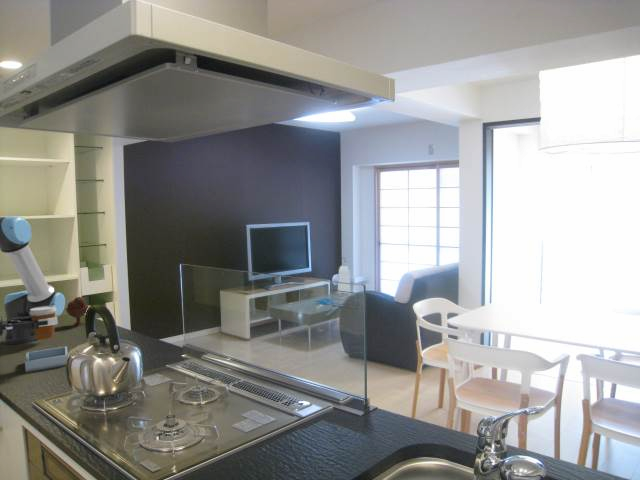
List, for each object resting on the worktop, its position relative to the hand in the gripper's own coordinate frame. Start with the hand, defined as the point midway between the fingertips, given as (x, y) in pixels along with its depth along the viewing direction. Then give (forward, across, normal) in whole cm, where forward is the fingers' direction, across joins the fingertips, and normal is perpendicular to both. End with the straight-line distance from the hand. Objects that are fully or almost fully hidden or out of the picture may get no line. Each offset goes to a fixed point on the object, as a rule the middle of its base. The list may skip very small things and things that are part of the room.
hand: (57, 318), depth 201 cm
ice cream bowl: (+9, -67, -18) cm, 70 cm away
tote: (-5, 0, -18) cm, 18 cm away
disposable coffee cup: (-5, 0, -7) cm, 9 cm away
